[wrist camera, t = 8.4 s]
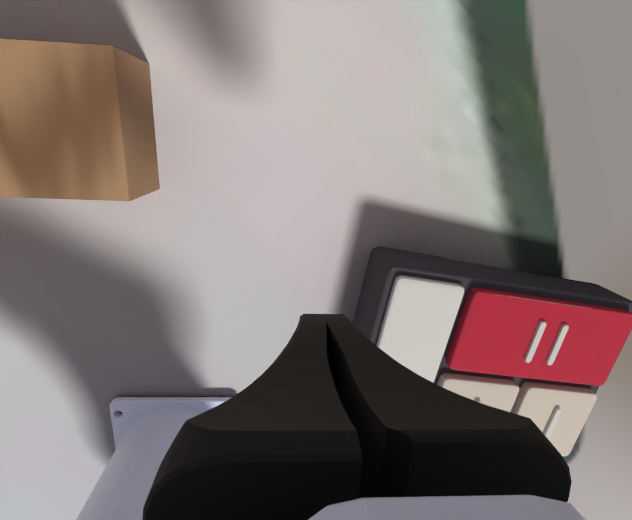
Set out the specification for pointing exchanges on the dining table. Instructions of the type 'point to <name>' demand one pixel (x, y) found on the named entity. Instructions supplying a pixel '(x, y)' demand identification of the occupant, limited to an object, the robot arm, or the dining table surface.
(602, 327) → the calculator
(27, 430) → the dining table surface
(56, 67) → the walnut block
